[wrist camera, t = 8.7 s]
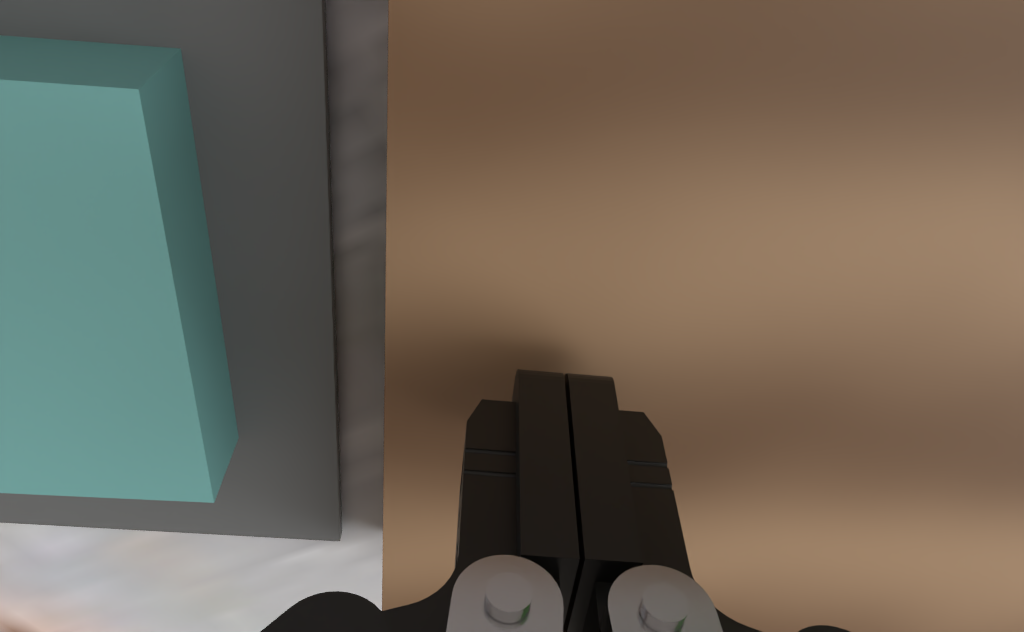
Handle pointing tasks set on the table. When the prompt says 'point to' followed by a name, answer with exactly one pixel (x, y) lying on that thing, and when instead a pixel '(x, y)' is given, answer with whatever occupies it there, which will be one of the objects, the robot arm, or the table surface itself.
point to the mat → (240, 254)
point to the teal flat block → (106, 280)
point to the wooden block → (727, 282)
